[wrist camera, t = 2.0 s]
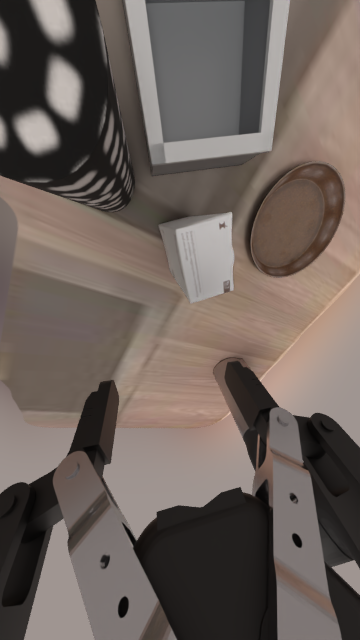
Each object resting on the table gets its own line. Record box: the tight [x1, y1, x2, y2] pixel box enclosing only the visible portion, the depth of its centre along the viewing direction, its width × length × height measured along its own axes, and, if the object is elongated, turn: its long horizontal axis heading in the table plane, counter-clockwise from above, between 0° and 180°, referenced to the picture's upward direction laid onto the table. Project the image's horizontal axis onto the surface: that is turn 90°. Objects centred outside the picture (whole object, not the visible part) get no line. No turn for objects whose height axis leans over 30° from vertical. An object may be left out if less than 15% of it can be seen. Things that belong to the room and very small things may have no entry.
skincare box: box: [159, 212, 234, 303], centre depth 23 cm, size 8×6×15 cm
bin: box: [122, 0, 290, 176], centre depth 18 cm, size 15×15×6 cm
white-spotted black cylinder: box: [0, 0, 135, 212], centre depth 14 cm, size 8×8×20 cm
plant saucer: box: [250, 161, 345, 278], centre depth 30 cm, size 18×18×3 cm
